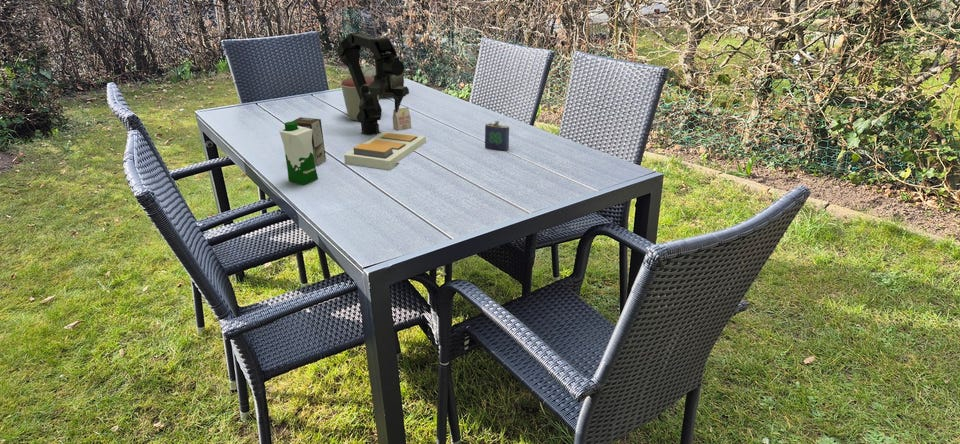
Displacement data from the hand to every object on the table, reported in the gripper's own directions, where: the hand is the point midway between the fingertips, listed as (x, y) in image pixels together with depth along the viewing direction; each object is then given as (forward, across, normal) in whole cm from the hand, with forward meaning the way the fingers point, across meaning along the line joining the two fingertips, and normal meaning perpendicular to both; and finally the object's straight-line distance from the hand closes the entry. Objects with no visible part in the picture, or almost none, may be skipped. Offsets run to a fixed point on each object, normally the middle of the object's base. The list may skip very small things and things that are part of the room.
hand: (386, 111), depth 230 cm
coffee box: (+13, -16, -30) cm, 37 cm away
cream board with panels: (+13, +4, -12) cm, 18 cm away
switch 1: (+10, +6, -22) cm, 25 cm away
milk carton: (+13, -8, -46) cm, 49 cm away
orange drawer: (+12, +6, -12) cm, 18 cm away
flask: (+13, +44, +8) cm, 47 cm away
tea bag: (+13, -2, +16) cm, 21 cm away
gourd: (+13, -42, +69) cm, 82 cm away
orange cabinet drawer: (+12, +6, -2) cm, 13 cm away
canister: (+13, -28, +27) cm, 41 cm away
